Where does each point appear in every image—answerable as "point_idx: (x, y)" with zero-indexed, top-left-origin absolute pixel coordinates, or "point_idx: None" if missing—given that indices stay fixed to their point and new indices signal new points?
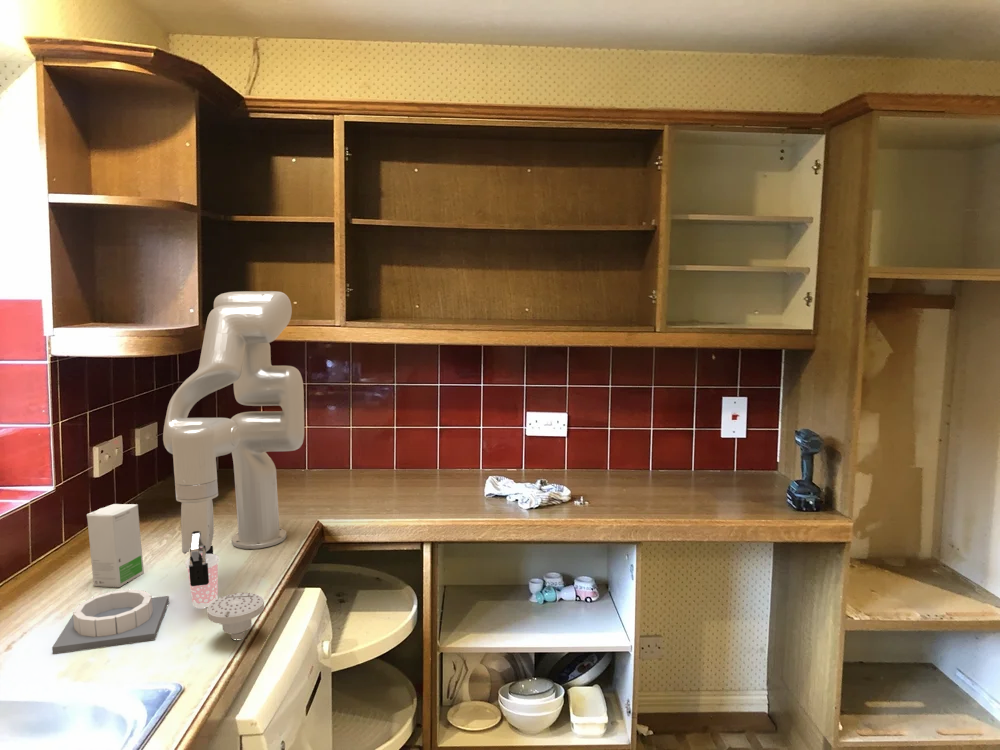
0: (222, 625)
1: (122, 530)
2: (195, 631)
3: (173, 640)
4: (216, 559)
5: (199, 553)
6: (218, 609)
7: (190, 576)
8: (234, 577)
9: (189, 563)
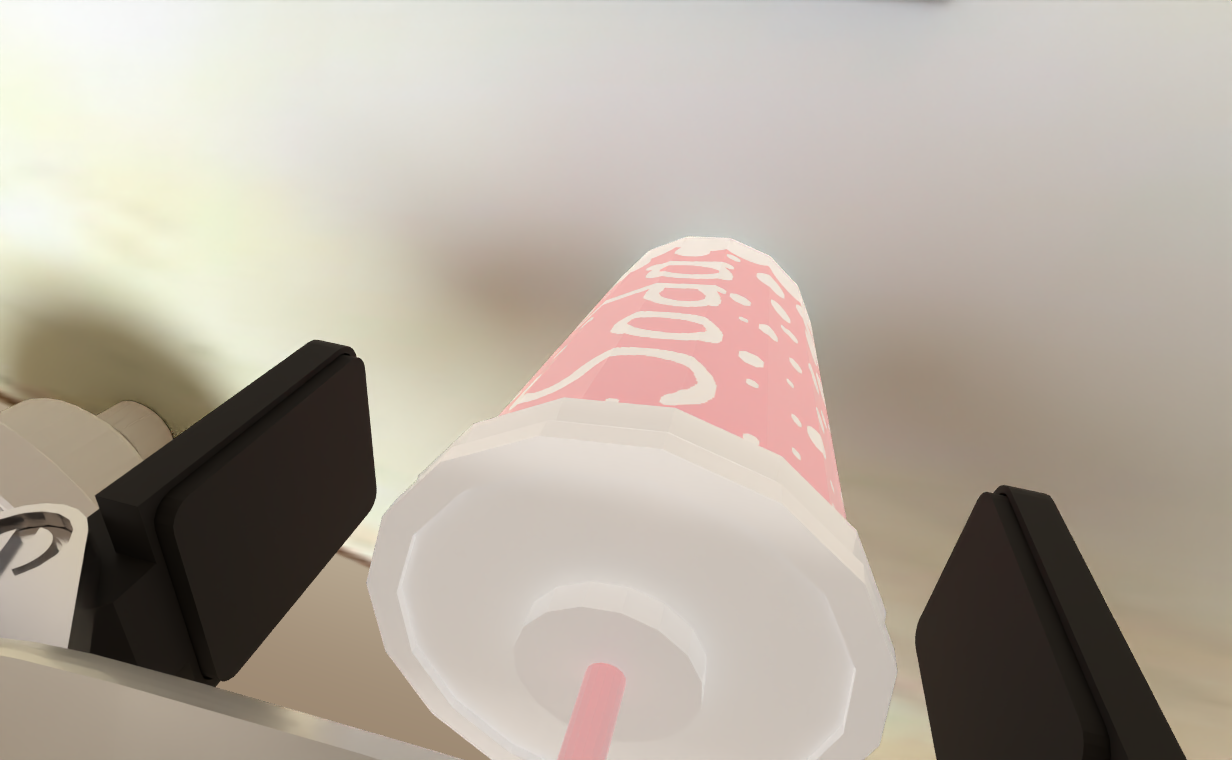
0: (5, 413)
1: None
2: (240, 223)
3: (124, 64)
4: None
5: (1028, 692)
6: None
7: (235, 403)
8: (1149, 604)
9: (543, 486)
